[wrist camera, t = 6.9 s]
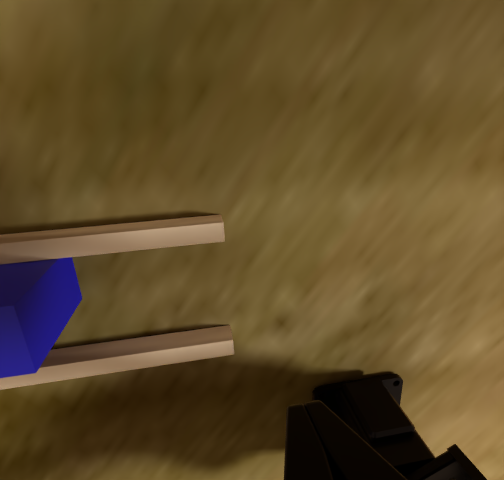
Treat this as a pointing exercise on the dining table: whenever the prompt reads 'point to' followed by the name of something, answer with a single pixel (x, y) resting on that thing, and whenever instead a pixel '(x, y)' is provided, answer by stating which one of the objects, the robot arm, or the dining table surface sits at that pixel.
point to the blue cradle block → (34, 311)
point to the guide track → (129, 350)
